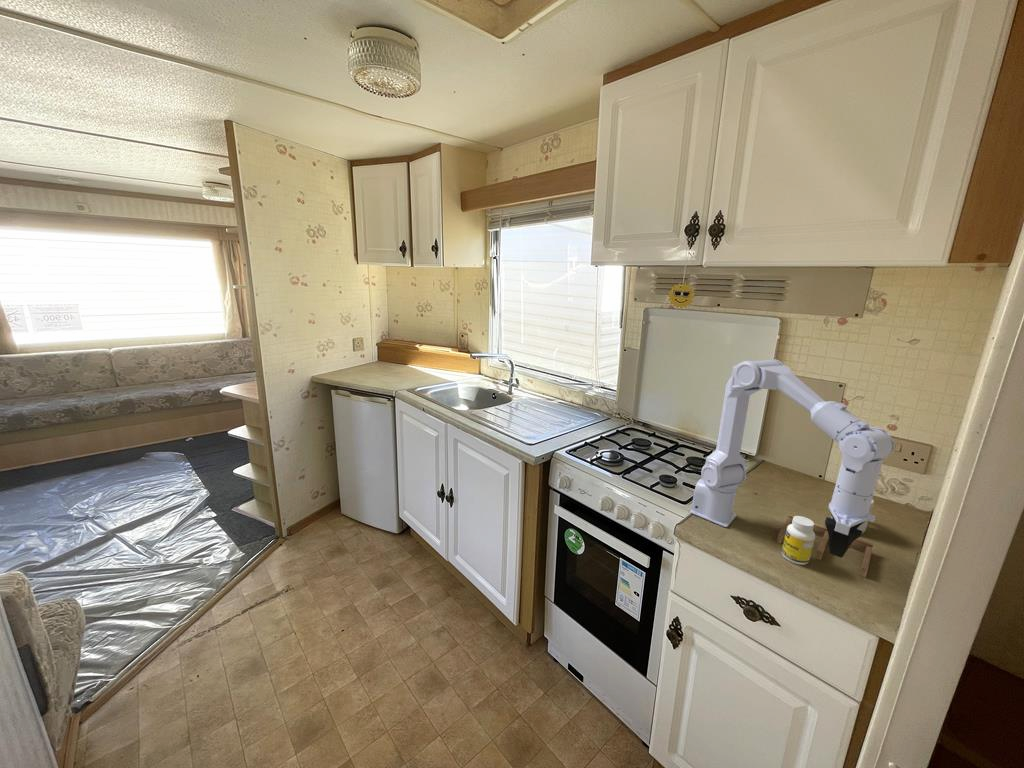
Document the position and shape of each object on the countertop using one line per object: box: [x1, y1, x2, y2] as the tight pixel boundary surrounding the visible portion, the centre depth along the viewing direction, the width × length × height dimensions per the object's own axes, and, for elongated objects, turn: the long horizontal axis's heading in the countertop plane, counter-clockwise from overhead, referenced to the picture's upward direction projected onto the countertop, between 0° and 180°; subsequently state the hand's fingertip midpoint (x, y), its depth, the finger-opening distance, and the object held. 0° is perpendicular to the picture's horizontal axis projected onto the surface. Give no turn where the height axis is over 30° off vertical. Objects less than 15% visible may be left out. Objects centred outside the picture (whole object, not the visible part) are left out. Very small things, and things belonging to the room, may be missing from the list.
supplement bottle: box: [781, 515, 816, 566], centre depth 95 cm, size 5×5×10 cm
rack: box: [776, 514, 874, 579], centre depth 100 cm, size 17×12×2 cm
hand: (837, 549), depth 84 cm, fingers open, 4 cm apart
